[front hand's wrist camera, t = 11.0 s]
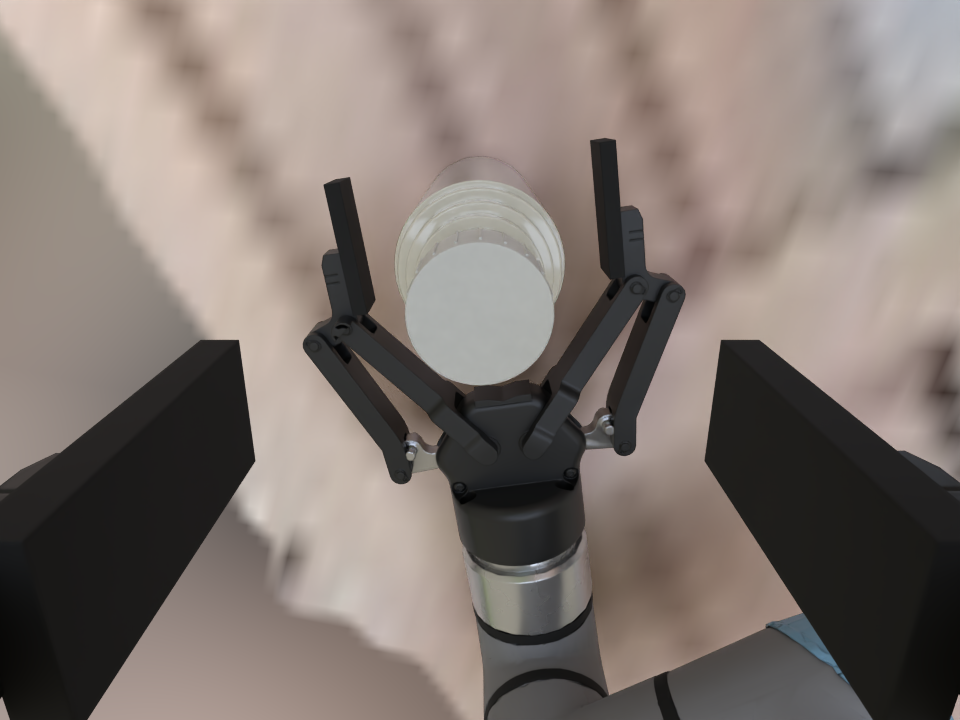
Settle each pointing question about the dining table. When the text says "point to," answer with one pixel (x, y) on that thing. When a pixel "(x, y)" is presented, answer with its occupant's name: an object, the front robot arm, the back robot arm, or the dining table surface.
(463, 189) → the bottle
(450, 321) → the cap
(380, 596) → the dining table surface
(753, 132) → the dining table surface
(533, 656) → the back robot arm
